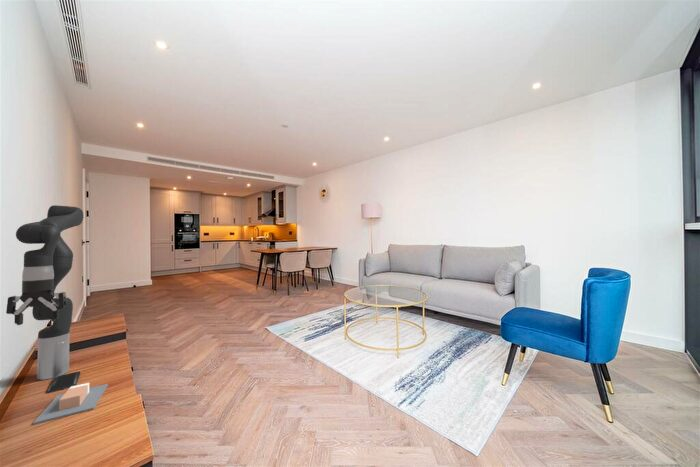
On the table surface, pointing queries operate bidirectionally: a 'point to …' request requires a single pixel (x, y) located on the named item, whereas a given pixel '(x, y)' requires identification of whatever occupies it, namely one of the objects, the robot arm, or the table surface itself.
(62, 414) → the mat
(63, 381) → the phone
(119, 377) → the table surface
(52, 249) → the robot arm
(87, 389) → the white-tipped pink eraser
